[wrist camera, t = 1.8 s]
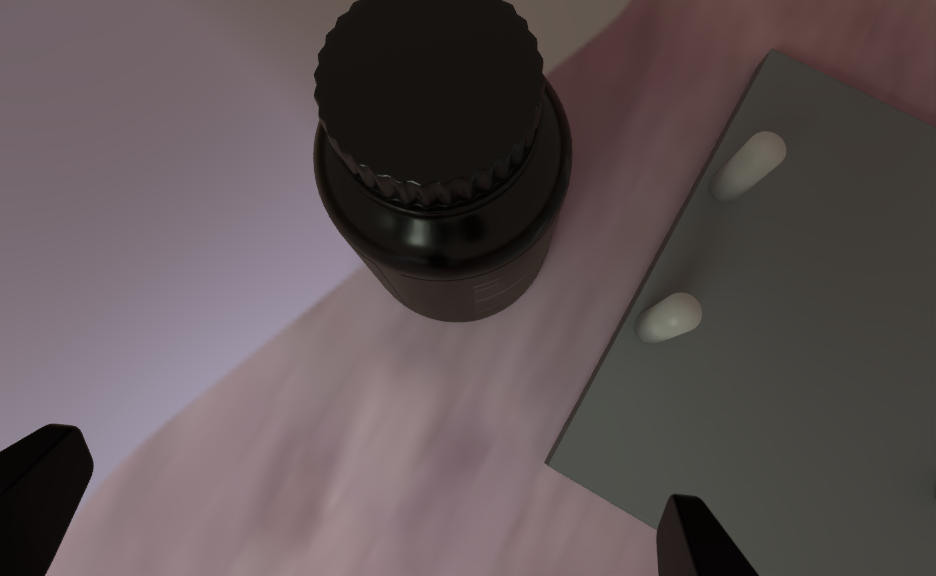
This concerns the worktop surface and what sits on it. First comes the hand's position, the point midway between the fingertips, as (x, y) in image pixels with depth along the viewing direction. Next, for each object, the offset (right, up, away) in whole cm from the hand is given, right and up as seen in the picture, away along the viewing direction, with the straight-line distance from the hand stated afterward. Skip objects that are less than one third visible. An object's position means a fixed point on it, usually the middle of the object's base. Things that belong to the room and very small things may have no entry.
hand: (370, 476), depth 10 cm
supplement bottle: (+1, +5, +15) cm, 16 cm away
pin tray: (+14, +1, +14) cm, 20 cm away
